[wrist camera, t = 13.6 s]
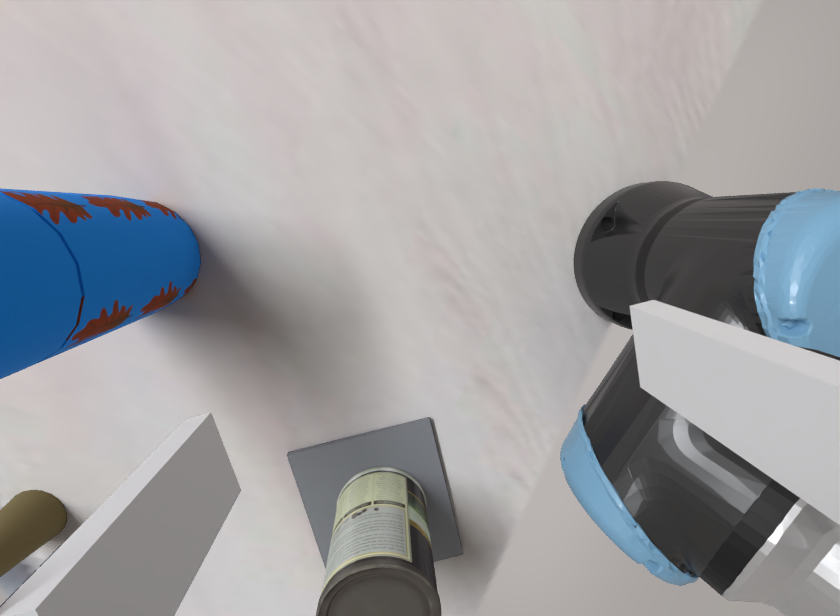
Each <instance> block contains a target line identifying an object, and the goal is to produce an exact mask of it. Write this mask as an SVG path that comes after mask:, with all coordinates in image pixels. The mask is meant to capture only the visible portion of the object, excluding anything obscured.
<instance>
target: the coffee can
mask: <svg viewBox="0 0 840 616" xmlns="http://www.w3.org/2000/svg"><path fill="white" fill-rule="evenodd" d="M426 507H427V505H426V497H425V493H424V491H423V489H422V487H421V486H420V484H419V483H418V482H417V481H416V480H415V479H414V478H413V477H412V476H411V475H409V474H408V473H406V472H404V471H402V470H399V469H396V468H391V467H375V468H370V469H367V470H365V471H362V472H360V473H358V474H356V475H355V476H353V477H352V478H351V479H350V480H349V481H348V482H347V483H346V484H345V486H344V487H343V488H342V490H341V492H340V494H339V497H338V500H337V510H336V516H335V522H334V527H333V533H332V538H331V543H330V549H329V555H328V560H327V566H326V571H325V577H324V583H323V588H322V594H321V596H320V599H319V603H318V607H317V612H316V616H441V604H440V599H439V595H438V592H437V585H436V577H435V570H434V563H433V555H432V548H431V540H430V532H429V524H428V516H427V508H426Z"/></svg>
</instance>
